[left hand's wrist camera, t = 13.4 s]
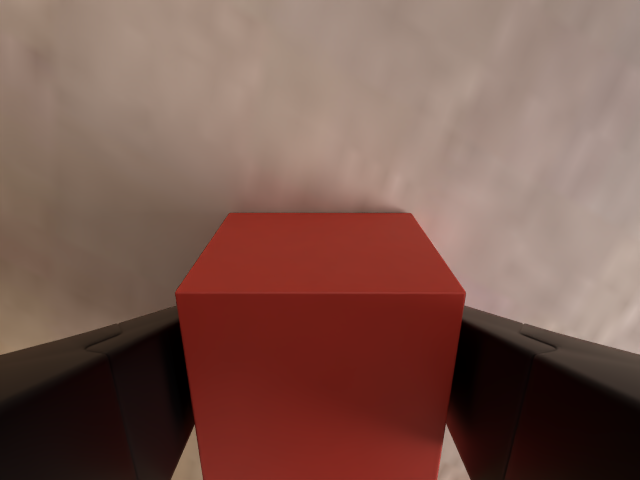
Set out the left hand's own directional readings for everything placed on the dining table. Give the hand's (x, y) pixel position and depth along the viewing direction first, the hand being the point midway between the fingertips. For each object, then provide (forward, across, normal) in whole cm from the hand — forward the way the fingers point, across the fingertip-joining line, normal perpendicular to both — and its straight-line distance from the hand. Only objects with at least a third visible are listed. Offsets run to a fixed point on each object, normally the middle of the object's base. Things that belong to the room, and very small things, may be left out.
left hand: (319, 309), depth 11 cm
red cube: (+1, 0, 0) cm, 1 cm away
